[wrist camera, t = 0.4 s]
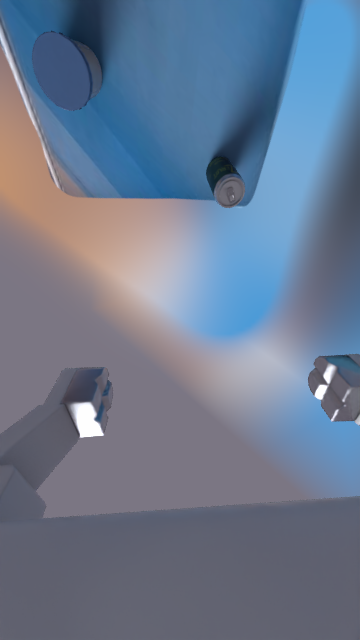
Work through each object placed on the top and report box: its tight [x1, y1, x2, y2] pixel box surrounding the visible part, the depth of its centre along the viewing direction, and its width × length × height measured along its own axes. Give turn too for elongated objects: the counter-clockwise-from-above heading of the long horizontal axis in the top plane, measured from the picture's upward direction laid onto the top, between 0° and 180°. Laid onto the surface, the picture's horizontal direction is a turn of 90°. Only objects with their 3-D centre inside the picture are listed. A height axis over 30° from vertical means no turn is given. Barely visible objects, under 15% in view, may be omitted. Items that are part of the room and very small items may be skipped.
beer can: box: [206, 156, 245, 208], centre depth 42 cm, size 5×5×12 cm
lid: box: [32, 31, 93, 111], centre depth 28 cm, size 7×7×2 cm
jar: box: [73, 40, 102, 99], centre depth 31 cm, size 6×6×11 cm
